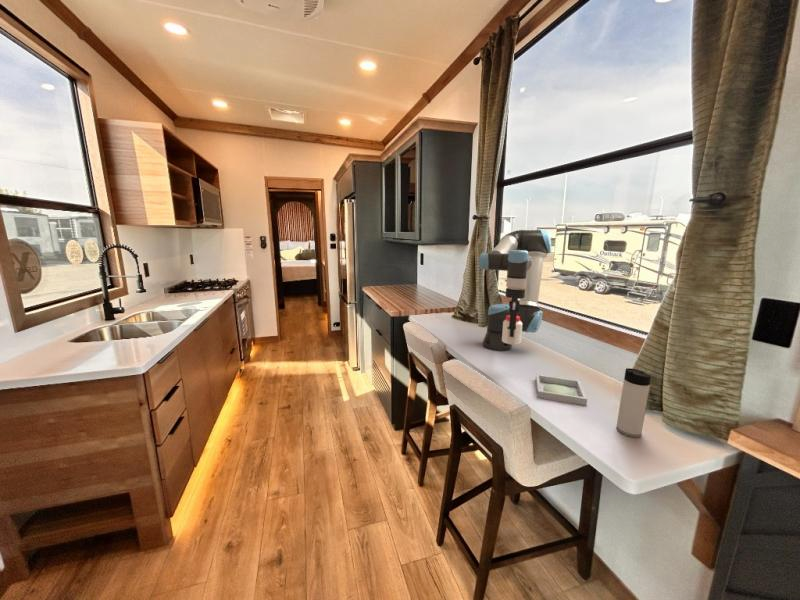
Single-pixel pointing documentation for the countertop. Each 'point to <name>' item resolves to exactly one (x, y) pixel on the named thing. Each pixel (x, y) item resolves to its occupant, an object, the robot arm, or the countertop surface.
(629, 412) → the travel mug
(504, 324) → the pill bottle
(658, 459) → the countertop surface
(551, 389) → the pad
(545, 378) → the shallow grey tray
